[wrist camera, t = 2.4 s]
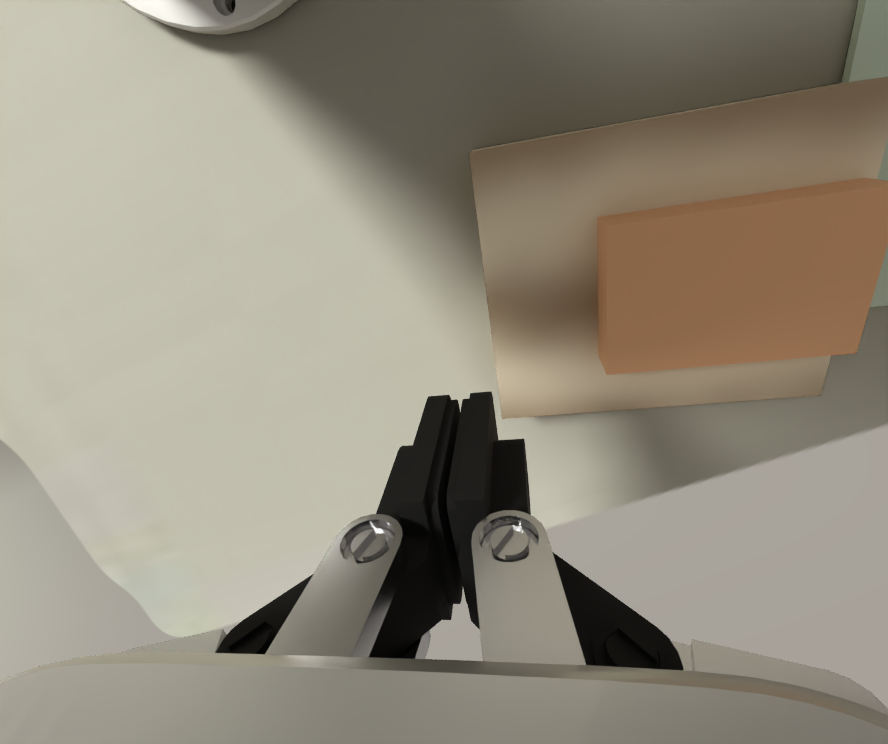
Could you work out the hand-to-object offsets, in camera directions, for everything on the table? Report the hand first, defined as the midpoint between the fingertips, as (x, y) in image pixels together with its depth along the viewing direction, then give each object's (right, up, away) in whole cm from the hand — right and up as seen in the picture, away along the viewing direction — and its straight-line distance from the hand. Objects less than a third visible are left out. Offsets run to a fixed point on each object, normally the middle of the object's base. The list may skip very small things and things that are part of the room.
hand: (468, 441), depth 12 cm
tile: (+10, +6, +6) cm, 13 cm away
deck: (+8, +7, +9) cm, 14 cm away
